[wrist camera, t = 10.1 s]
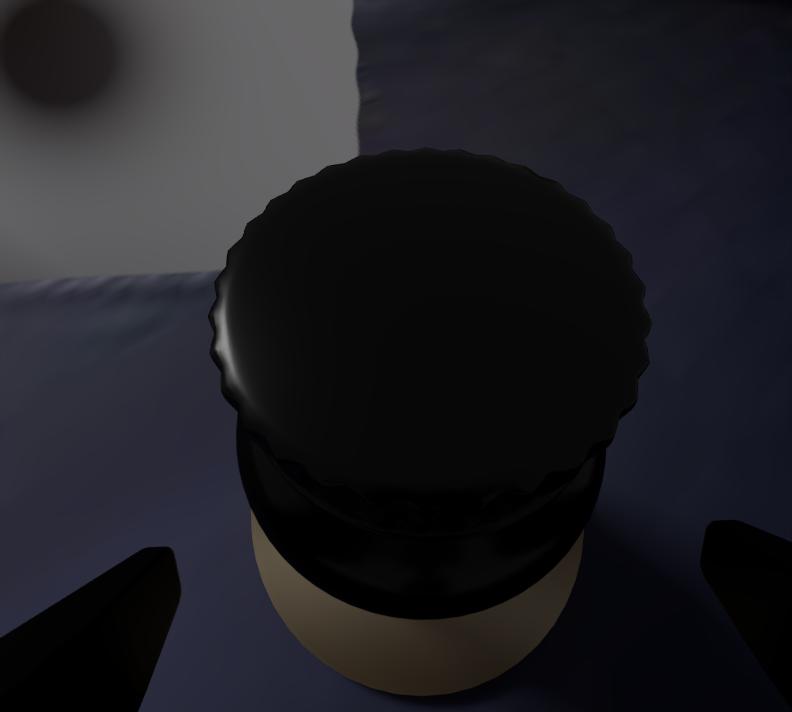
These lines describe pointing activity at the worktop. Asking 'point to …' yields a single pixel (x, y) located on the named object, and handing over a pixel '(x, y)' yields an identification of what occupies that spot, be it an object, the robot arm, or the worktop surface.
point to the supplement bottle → (426, 376)
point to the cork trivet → (414, 630)
